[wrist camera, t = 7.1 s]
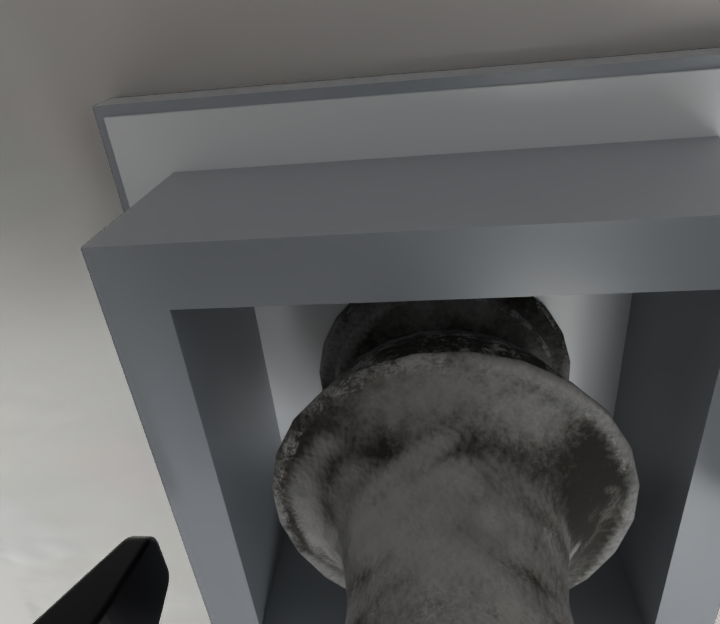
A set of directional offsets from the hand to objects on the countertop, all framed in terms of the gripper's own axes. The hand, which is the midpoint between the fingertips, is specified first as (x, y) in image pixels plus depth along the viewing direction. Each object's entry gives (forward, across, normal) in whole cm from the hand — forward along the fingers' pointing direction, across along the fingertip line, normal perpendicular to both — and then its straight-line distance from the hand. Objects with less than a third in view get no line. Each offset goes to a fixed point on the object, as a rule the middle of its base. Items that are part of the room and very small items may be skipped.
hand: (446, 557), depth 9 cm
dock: (+6, 0, 0) cm, 6 cm away
